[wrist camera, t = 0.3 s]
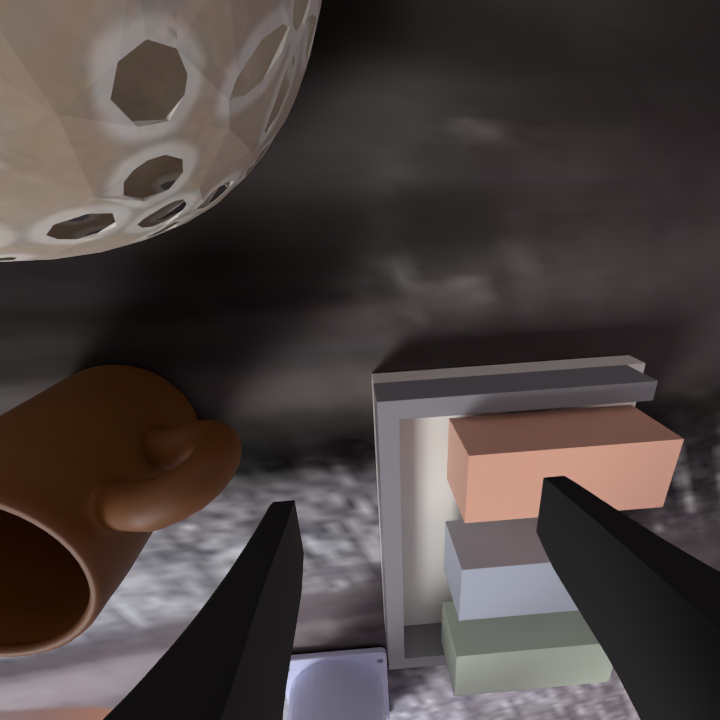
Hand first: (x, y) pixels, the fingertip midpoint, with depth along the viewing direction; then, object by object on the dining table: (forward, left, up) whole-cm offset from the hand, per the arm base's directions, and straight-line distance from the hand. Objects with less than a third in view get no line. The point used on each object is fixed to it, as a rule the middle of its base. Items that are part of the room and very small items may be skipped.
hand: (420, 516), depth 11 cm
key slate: (-9, -7, -7) cm, 14 cm away
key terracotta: (-3, -7, -7) cm, 11 cm away
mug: (-1, +12, -10) cm, 15 cm away
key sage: (-16, -7, -7) cm, 19 cm away
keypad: (-9, -6, -10) cm, 15 cm away
